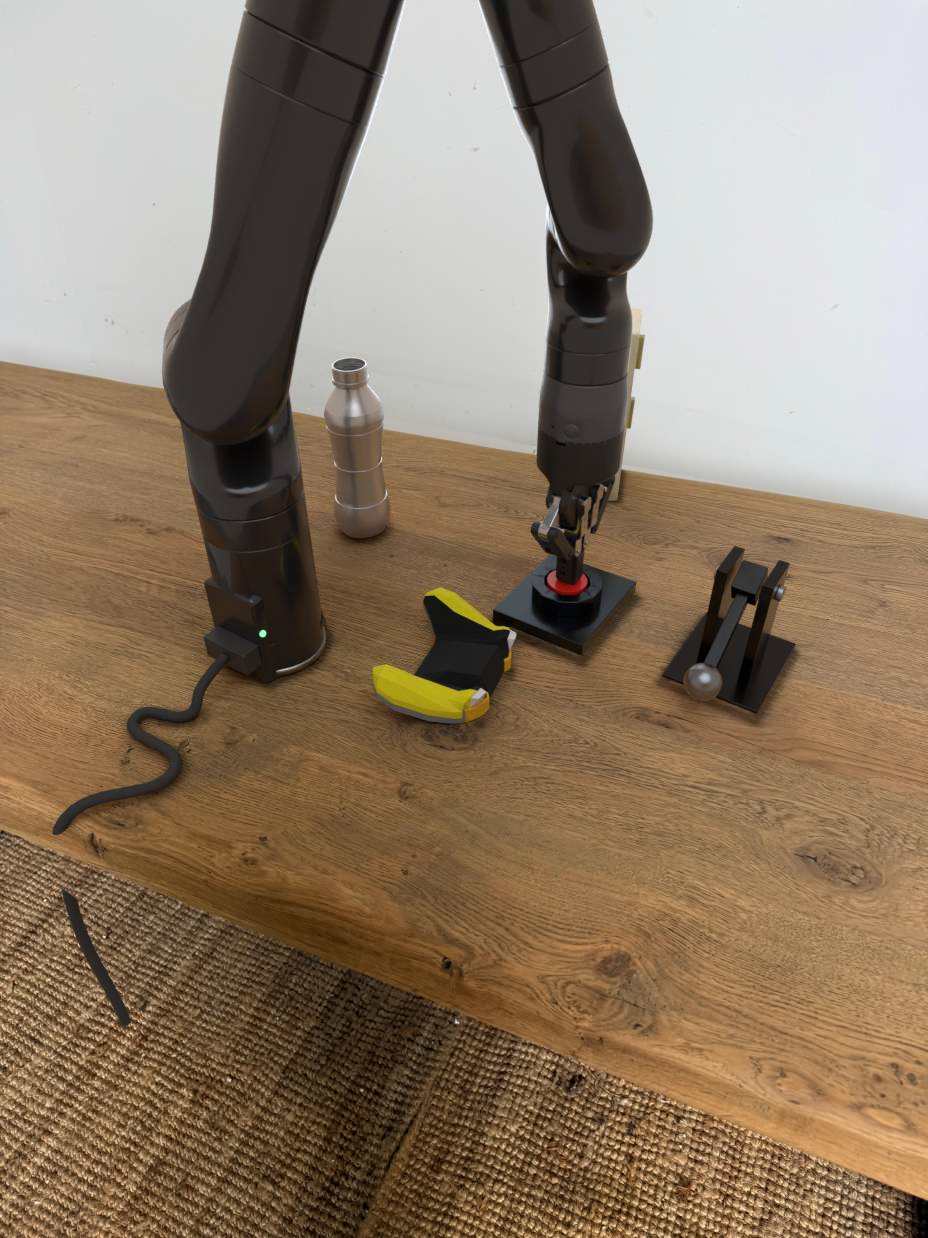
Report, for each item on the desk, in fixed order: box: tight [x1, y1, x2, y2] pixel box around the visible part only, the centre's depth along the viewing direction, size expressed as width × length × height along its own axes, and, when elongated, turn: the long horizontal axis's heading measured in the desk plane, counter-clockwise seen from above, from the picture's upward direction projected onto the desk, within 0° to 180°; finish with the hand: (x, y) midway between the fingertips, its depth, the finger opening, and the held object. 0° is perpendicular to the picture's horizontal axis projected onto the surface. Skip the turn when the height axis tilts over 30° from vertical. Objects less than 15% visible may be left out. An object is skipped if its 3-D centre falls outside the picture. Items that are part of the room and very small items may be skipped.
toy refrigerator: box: [608, 307, 646, 502], centre depth 102 cm, size 8×7×21 cm
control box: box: [492, 554, 637, 657], centre depth 87 cm, size 12×10×4 cm
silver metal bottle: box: [323, 357, 392, 539], centre depth 95 cm, size 6×7×20 cm
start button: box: [547, 570, 588, 595], centre depth 86 cm, size 4×4×2 cm
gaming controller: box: [371, 587, 517, 725], centre depth 79 cm, size 15×6×10 cm
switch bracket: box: [661, 545, 797, 715], centre depth 78 cm, size 11×9×12 cm
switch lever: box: [683, 559, 769, 702], centre depth 74 cm, size 13×3×3 cm, turn 147°
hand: (568, 579), depth 86 cm, fingers closed
